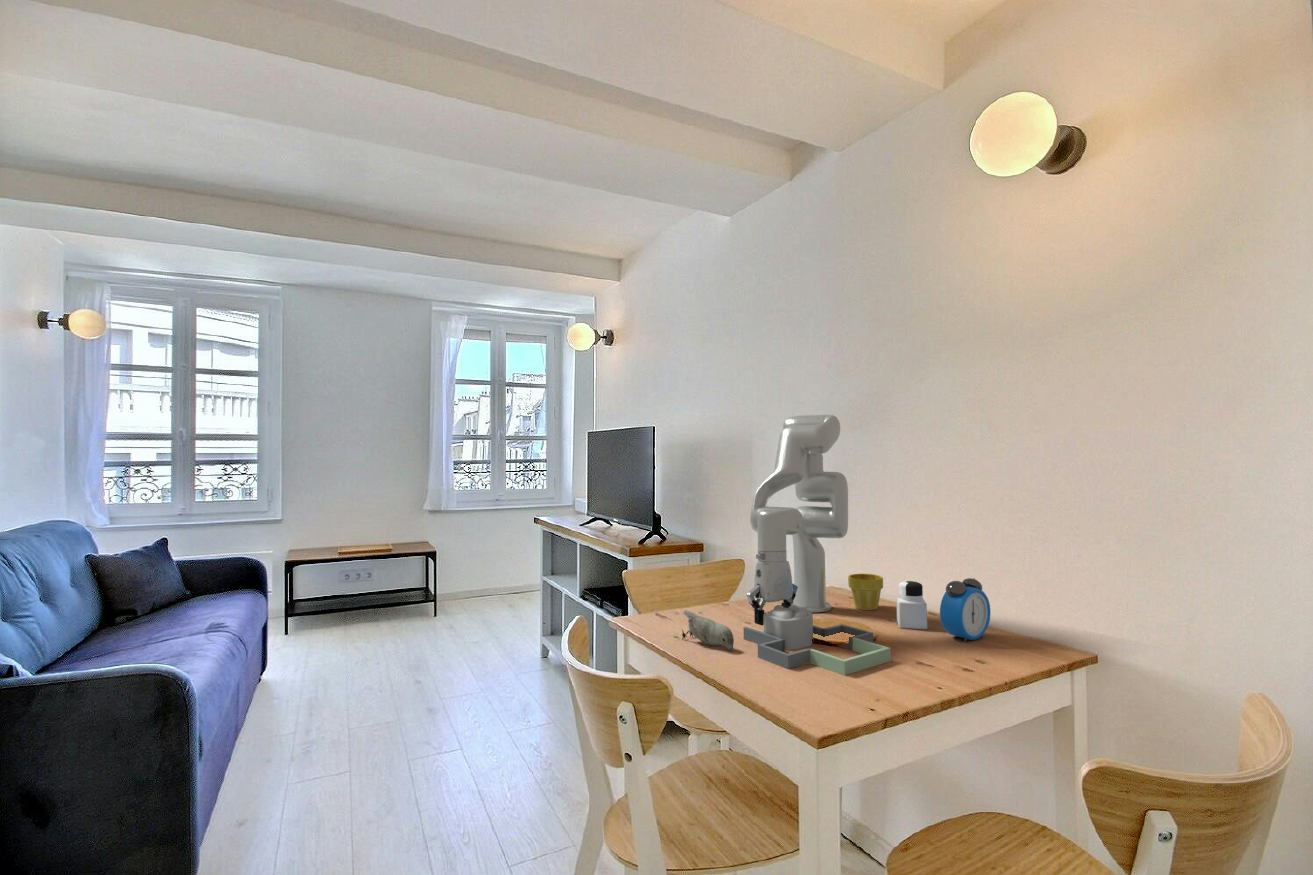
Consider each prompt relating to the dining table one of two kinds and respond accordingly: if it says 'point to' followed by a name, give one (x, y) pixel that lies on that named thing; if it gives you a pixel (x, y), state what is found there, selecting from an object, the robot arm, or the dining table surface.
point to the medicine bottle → (911, 606)
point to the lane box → (861, 643)
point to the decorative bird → (709, 631)
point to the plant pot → (865, 590)
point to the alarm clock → (965, 609)
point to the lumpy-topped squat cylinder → (790, 625)
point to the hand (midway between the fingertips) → (773, 621)
